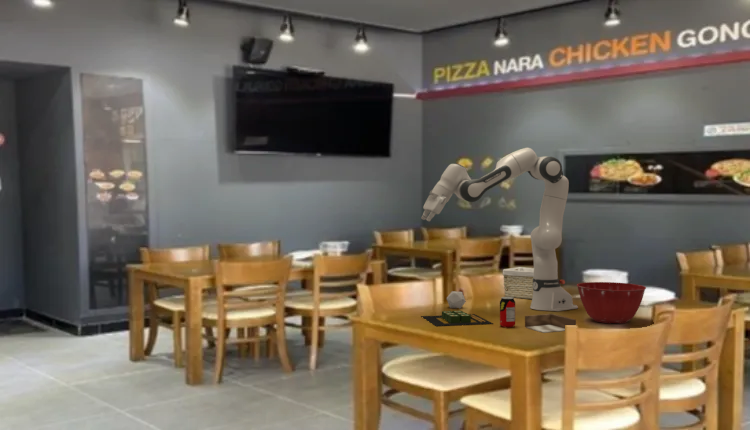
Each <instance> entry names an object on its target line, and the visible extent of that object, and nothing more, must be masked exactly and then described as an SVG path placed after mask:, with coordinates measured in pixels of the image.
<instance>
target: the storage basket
mask: <svg viewBox="0 0 750 430" xmlns="http://www.w3.org/2000/svg"><path fill="white" fill-rule="evenodd" d="M502 275H503V286H504V287H503V289H504V297H513V298H514V299H515V298H517V299H524V300H532V297H533V278H534V267H524V266H518V267H517V266H516V267H511V268H504V269H502Z"/></svg>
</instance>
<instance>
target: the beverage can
mask: <svg viewBox="0 0 750 430" xmlns="http://www.w3.org/2000/svg"><path fill="white" fill-rule="evenodd" d="M500 298H501V299H500V301H499V325H500V326H501V327H502V328H514V326H516V300H515V297H507V296H501V297H500Z"/></svg>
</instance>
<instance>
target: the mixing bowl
mask: <svg viewBox="0 0 750 430" xmlns="http://www.w3.org/2000/svg"><path fill="white" fill-rule="evenodd" d="M576 286H577V289H578V295H579V297H580V301H581V303H582V305H583V309H584V310H585V312H586V314H587V315H588V316H589V318H591V319H592V320H593V321H594V322H597V323H601V324H611V323H619V324H626V323H628V322H629V321H630V320H632V319H633V318H634V317H635V316H636V314H637V311H638V310H639V308H640V307H641V304H642V301H643V298H644V295H645V291H646V289H647V287H646V286H645V285H641V284H636V283H627V282H610V281H593V282H592V281H591V282H590V281H588V282H587V281H586V282H580V283H577V284H576Z"/></svg>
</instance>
